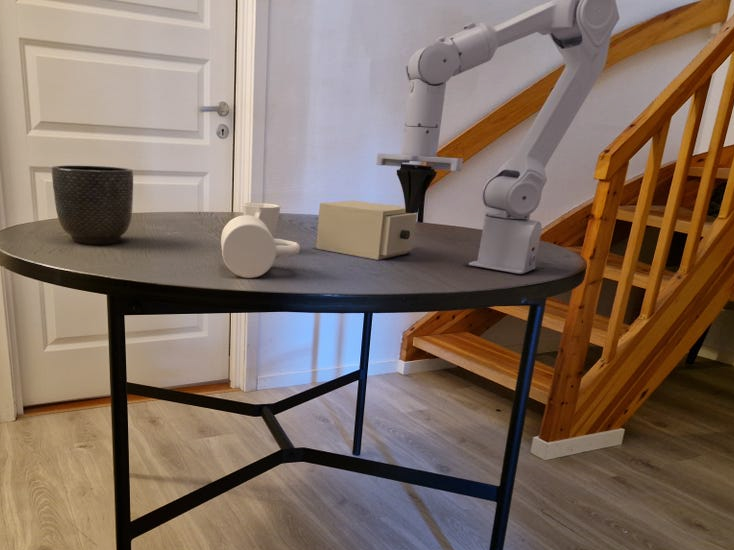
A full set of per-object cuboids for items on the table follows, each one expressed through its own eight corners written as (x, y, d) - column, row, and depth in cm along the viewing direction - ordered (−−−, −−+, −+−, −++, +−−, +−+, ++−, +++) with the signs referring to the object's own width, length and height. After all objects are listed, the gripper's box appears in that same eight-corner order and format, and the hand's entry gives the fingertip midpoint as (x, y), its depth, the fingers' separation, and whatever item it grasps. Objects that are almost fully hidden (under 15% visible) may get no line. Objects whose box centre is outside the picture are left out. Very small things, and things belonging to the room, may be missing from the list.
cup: (279, 247, 118) (282, 204, 115) (273, 256, 108) (276, 210, 105) (243, 244, 118) (245, 201, 115) (234, 253, 109) (236, 207, 106)
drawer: (418, 250, 117) (423, 214, 115) (392, 256, 109) (396, 218, 107) (356, 240, 125) (360, 206, 123) (328, 245, 117) (331, 209, 115)
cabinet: (407, 253, 119) (413, 207, 116) (378, 260, 111) (383, 211, 108) (348, 243, 127) (352, 200, 124) (316, 248, 118) (319, 203, 116)
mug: (221, 277, 91) (222, 222, 88) (220, 263, 100) (221, 213, 97) (301, 280, 92) (305, 225, 89) (293, 266, 101) (296, 217, 98)
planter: (143, 237, 120) (142, 168, 115) (121, 250, 107) (118, 172, 102) (74, 233, 121) (70, 164, 116) (43, 244, 107) (37, 167, 103)
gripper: (371, 125, 101) (362, 209, 106) (454, 128, 93) (441, 219, 98) (391, 126, 107) (382, 207, 111) (472, 129, 98) (459, 216, 103)
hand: (411, 212), depth 105 cm, fingers closed
